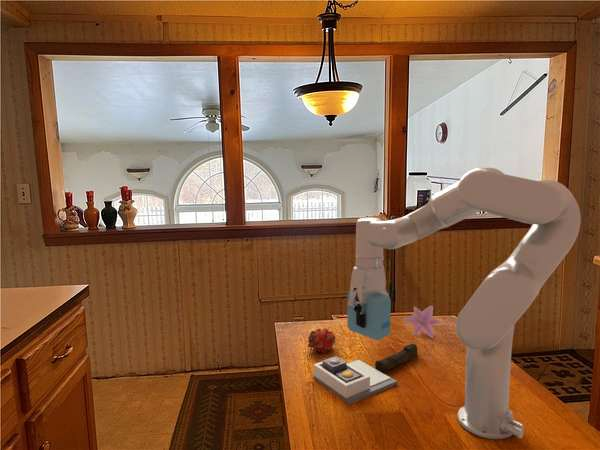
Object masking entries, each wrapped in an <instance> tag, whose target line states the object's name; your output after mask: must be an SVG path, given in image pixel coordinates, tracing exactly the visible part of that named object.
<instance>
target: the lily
mask: <svg viewBox="0 0 600 450" xmlns="http://www.w3.org/2000/svg"><path fill="white" fill-rule="evenodd" d="M433 312H434V305H429V306H427V307H426V308H424V309H423V310H422V311H421V309H419V307H417V306H413V313H414V315H410V316H407V317H405V318H404V319H403V321H404V322H406V323H408V324H409V325H412V326H414V329H413V336H417V335H419V334H420V333H421V332H423V333H425V334H426V335H427V336H428V337H430V338H432V339H434V336H435V335H434V334H435V333H434V328H433V327H434V326H436V325H439V324H441V323H442V322H441V321H440V320H438V319H436V318H433V315H434V313H433Z"/></svg>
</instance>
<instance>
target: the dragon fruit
mask: <svg viewBox="0 0 600 450" xmlns="http://www.w3.org/2000/svg"><path fill="white" fill-rule="evenodd" d="M307 341H308V344H307V346H308V348H310V350H311V351H312V352H316V353H318V354H319V353H320V352H322V353H325V354H327V353H328V351H331V350H332V349H333V346H334V345H335V343H336V342H337V341H336V336H335V334H334V332H333V331H329V329H328V328H323V329H321V328H317V329H316V330H311V332H310V333H309V335H308V337H307Z"/></svg>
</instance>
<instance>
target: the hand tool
mask: <svg viewBox="0 0 600 450" xmlns="http://www.w3.org/2000/svg"><path fill="white" fill-rule="evenodd" d="M418 354H419V352H418V346H417V344H416V343H410V344H407V345H405V346H403V349H402V350H400V351H399V352H395V353H394V354H391V355H389V356H387V357H385V358H383V359H381V360H376V361H375V363H374V364H375V365H374V366H375V367H374V368H375V369H376V370H378V371H380V372H382V373H384V374H385V373H388V371H389V370H391V369H393V368H395V367H397V366H398V367H399V365H401V364H404V363H405V362H411V361H412V360H414V359H416V358H417V355H418ZM385 375H386V374H385Z"/></svg>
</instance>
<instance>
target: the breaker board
mask: <svg viewBox="0 0 600 450" xmlns="http://www.w3.org/2000/svg"><path fill="white" fill-rule="evenodd" d="M347 369H350V370H352V371H354V372H355V373H357V374H358V375H360V378H359V379H356V380H354V381H351V382H348V383H345V382H344V381H342V380H341V379H339V378H338V377H336V376H335V375H333V374H332V373H330V372H329V371H327V370H326V369H324V368H323V360H322V361H320V362H317V363H314V364H313V375H312V378H313V380H315V381H316V382H318V383H319V384H321V385H322V386H324V387H325V388H326V389H327V390H329V391H330V392H331V393H333V394H335V395H336V396H337V397H339V398H340V399H341V400H343V401H344V402H345V403H347V404H349V405H351V404H354V403H357V402H359V401H361V400H363V399H366V398H369V397H370V396H373V395H375V394H377V393H380V392H382V391H385V390H387V389H390V388H391V387H394V386H397V385H398V381H397V380H396V379H394V378H392V377H391V376H389V375H387V374H384V373H382V372H380V371H378V370H376V369H375V367H373V366H371V365H369V364H367V363H366V362H363V360H360V359H358V358H357V359H355V360H352V361H348V362H347Z"/></svg>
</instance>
